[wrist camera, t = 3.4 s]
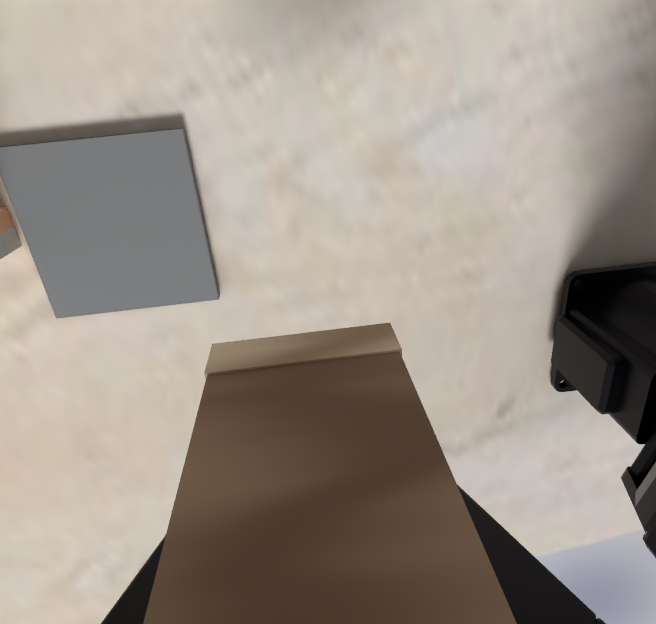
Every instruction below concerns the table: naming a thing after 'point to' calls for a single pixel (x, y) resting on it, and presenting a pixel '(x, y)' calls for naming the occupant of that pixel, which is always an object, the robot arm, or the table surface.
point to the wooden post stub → (319, 495)
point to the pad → (112, 221)
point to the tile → (7, 234)
